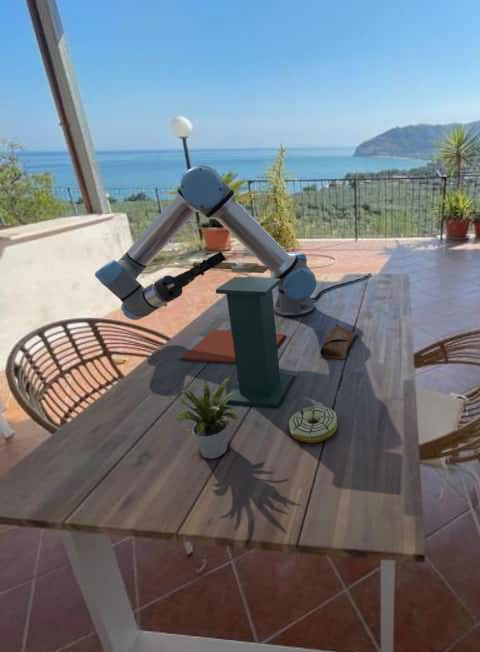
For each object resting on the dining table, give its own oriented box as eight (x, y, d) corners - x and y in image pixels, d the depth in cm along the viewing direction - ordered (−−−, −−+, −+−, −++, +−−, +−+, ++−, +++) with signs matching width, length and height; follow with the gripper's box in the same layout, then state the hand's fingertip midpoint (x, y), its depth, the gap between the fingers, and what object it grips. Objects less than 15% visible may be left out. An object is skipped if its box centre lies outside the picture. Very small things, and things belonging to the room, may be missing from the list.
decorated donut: (293, 415, 93) (292, 402, 91) (338, 415, 93) (338, 402, 91) (285, 446, 83) (284, 431, 81) (336, 446, 83) (335, 431, 81)
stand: (246, 373, 110) (234, 274, 100) (294, 377, 108) (286, 276, 98) (223, 402, 97) (206, 292, 87) (277, 407, 96) (266, 295, 85)
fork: (199, 265, 120) (198, 259, 119) (269, 268, 117) (269, 261, 116) (189, 270, 115) (188, 263, 114) (262, 273, 112) (262, 266, 111)
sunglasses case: (347, 358, 117) (335, 340, 116) (328, 366, 120) (316, 349, 118) (358, 333, 134) (348, 317, 132) (342, 341, 136) (332, 325, 135)
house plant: (170, 488, 72) (153, 416, 67) (171, 441, 84) (157, 376, 78) (248, 465, 78) (239, 396, 72) (239, 424, 90) (230, 362, 84)
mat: (213, 332, 136) (213, 329, 136) (285, 336, 133) (284, 334, 133) (181, 359, 118) (181, 357, 118) (263, 365, 115) (263, 363, 114)
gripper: (185, 293, 130) (239, 261, 123) (156, 309, 116) (216, 274, 109) (171, 273, 128) (225, 240, 121) (141, 288, 114) (200, 251, 107)
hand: (220, 256), depth 115 cm, fingers closed on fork, 2 cm apart
